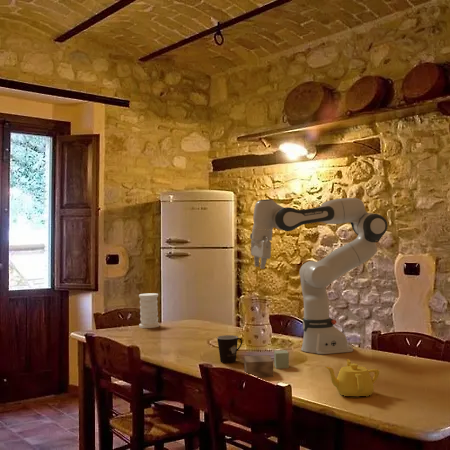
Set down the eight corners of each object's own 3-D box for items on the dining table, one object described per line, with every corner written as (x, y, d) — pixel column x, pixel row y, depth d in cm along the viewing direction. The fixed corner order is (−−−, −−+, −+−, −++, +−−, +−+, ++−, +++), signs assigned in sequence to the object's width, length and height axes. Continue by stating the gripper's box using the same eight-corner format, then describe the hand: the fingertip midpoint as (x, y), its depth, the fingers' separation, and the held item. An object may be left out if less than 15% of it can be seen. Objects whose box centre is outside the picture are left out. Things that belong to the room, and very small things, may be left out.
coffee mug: (220, 364, 243) (220, 340, 243) (215, 360, 251) (214, 336, 251) (248, 362, 246) (247, 337, 246) (241, 357, 254) (241, 334, 254)
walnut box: (270, 370, 232) (269, 355, 232) (273, 377, 222) (272, 361, 222) (244, 371, 232) (243, 356, 232) (246, 378, 222) (246, 362, 222)
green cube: (286, 365, 239) (286, 350, 239) (288, 368, 234) (288, 353, 234) (274, 365, 239) (274, 350, 239) (276, 368, 234) (275, 353, 234)
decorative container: (163, 325, 338) (163, 293, 338) (150, 328, 328) (150, 296, 328) (148, 323, 344) (147, 292, 344) (134, 327, 335) (133, 295, 334)
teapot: (348, 385, 208) (347, 357, 207) (383, 392, 198) (382, 363, 198) (325, 395, 198) (324, 365, 198) (360, 402, 188) (359, 371, 188)
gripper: (275, 237, 251) (273, 270, 251) (262, 235, 271) (260, 266, 271) (261, 236, 250) (258, 269, 250) (249, 234, 270) (246, 265, 270)
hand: (259, 267), depth 261 cm, fingers open, 8 cm apart
